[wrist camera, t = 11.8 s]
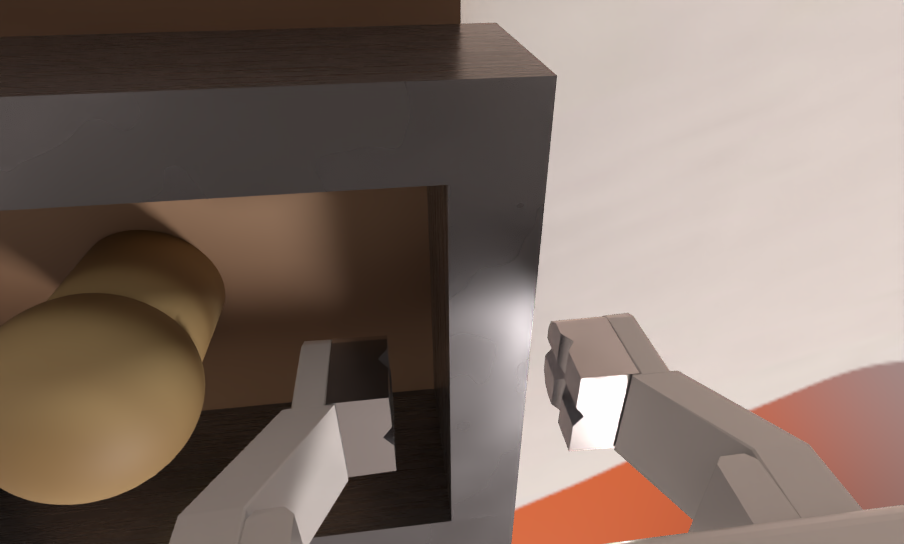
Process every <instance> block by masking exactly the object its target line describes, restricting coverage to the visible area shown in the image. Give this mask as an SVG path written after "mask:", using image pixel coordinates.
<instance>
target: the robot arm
mask: <svg viewBox="0 0 904 544" xmlns="http://www.w3.org/2000/svg"><path fill="white" fill-rule="evenodd" d="M547 338H548V341H549V343H550V346H551V348H552V349H551V350H550V351H549V352H548V353H547V354H546V355H545V365H544V373H545V384H546V388H547V392H548V396H549V398H550V401H551V404H552V405H554V406H555V407H556V408H558V409H559V410H560V413H559V420H558V423H559V426H560V429H561V431H562V434H563V437H564V439H565V442H566V444H567V447H568V450H569V451H579V450H591V449H603V448H615V449H614V450H615V451H616V452H617V453H618V454H620V455H621V456H622V457H623V458H624V459H625V460H626V461H627V462H629V463H630V464H631V465H632V466H633V467H634V468H636V470H638V471H639V472H640V473H641V474H642V475H643V476H644V477H645V478H647V479H648V480H649V481H650V482H651V483H652V484H653V485H654V486H656V487H657V488H658V489H659V490H660V491H661V492H662V493H663V494H665V495H666V496H667V497H668V498H669V499H671V501H672V502H674V503H675V504H676V505H677V506H678V507H679V508H680V509H681V510H682V511H684V512H685V513H686V514H687V515H688V516H689V517H690V518H691V519H693V522H692V525H691V527H690V530H689V532H688V533H684V534H676V535H669V536H661V537H653V538H646V539H638V540H630V541H623V542H615V543H608V544H904V505H899V506H892V507H883V508H876V509H868V510H862V508H861V507H860V506H859V505H858V503H857V502H856V501H855V500H854V499H853V497H852V496H851V495H850V494H849V493H848V491H847V490H846V489H845V488H844V486H843V485H842V484H841V483H840V482H839V480H838V479H837V478H836V477H835V476H834V474H833V473H832V472H831V471H830V469H829V468H828V467H827V466H826V464H825V463H824V462H823V461H822V460H821V458H820V457H819V456H818V455H817V454H816V453H815V451H814V450H813V449H812V447H811V446H810V445H809V444H807V443H806V442H804V441H802V440H800V439H798V438H797V437H795V436H793V435H791V434H790V433H787V432H786V431H784V430H782V429H781V428H779V427H777V426H775V425H774V424H772V423H770V422H768V421H766V420H765V419H763V418H761V417H759V416H757V415H756V414H754V413H752V412H750V411H749V410H747V409H745V408H743V407H741V406H740V405H738V404H736V403H734V402H733V401H731V400H729V399H727V398H725V397H724V396H722V395H720V394H718V393H717V392H715V391H713V390H711V389H709V388H708V387H706V386H704V385H702V384H701V383H699V382H697V381H695V380H693V379H692V378H690V377H688V376H686V375H685V374H683V373H681V372H679V371H669V369H668V368H667V366H666V365H665V363H664V362H663V360H662V359H661V357H660V356H659V354H658V353H657V351H656V350H655V348H654V347H653V345H652V344H651V342H650V341H649V339H648V338H647V336H646V335H645V333H644V332H643V330H642V329H641V327H640V325H639V324H638V322H637V321H636V319H635V318H634V316H633V315H631V314H629V313H624V314H614V315H605V316H602V317H591V318H580V319H569V320H559V321H551V323H550V325H549V329H548V337H547ZM390 471H396V446H395V431H394V404H393V389H392V377H391V370H390V360H389V347H388V339H387V335H386V336H370V337H355V338H339V339H333V340H316V341H304V343H303V345H302V347H301V351H300V357H299V363H298V369H297V375H296V381H295V388H294V394H293V400H292V406H291V409H284V410H282V411H281V412H280V413H279V414H278V415H277V416H276V417H275V418H274V419H273V420H272V421H271V422H270V423H269V424H268V425H267V426H266V427H265V428H264V429H263V430H262V431H261V432H260V433H259V434H258V435H257V436H256V437H255V438H254V439H253V440H252V441H251V442H250V443H249V444H248V445H247V446H246V447H245V448H244V449H243V450H242V451H241V452H240V453H239V454H238V455H237V456H236V458H235V459H234V460H233V461H232V462H231V463H230V464H229V465H228V466H227V467H226V468H225V469H224V470H223V471H222V472H221V473H220V474H219V475H218V476H217V477H216V478H215V479H214V480H213V481H212V482H211V483H210V484H209V485H208V486H207V487H206V488H205V489H204V490H203V491H202V492H201V493H200V494H199V495H198V496H197V497H196V498H195V499H194V500H193V501H192V502H191V503H190V504H189V505H188V506H187V507H186V508H185V510H184V511H183V512H182V513H181V514H180V515H179V516H178V517H177V520H176V523H175V526H174V530H173V533H172V536H171V539H170V542H169V544H309V543H310V542H311V540H312V538H313V537H314V535H315V534H316V532H317V530H318V529H319V527H320V525H321V524H322V522H323V521H324V519H325V517H326V516H327V514H328V513H329V511H330V509H331V508H332V506H333V504H334V503H335V501H336V500H337V498H338V496H339V495H340V493H341V492H342V490H343V488H344V487H345V485H346V483H347V482H348V477H354V476H361V475H369V474H376V473H383V472H390Z"/></svg>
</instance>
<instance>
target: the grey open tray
mask: <svg viewBox="0 0 904 544" xmlns="http://www.w3.org/2000/svg"><path fill="white" fill-rule="evenodd" d="M556 80H557V75H556V74H555V73H553V72H552V71H551V70H550V69H549V68H548V67H546V66H545V65H544V64H543V63H542V62H541V61H540V60H538V59H537V58H536V57H535V56H534V55H533V54H532V53H530V52H529V51H528V50H527V49H526V48H525V47H523V46H522V45H521V44H520V43H519V42H518V41H517V40H515V39H514V38H513V37H512V36H511V35H510V34H509V33H507V32H506V31H505V30H504V29H503V28H502V27H500V26H499V25H498V24H497V23H472V24H436V25H401V26H366V27H330V28H295V29H260V30H224V31H189V32H154V33H118V34H83V35H48V36H12V37H0V211H4V210H22V209H39V208H56V207H73V206H91V205H108V204H125V203H143V202H160V201H177V200H194V199H212V198H229V197H246V196H263V195H281V194H298V193H315V192H333V191H350V190H367V189H384V188H402V187H419V186H427V197H428V226H429V254H430V283H431V311H432V340H433V368H434V389H425V390H414V391H404V392H393V404H394V431H395V446H396V471H390V472H383V473H376V474H369V475H361V476H354V477H348V482H347V483H346V485H345V487H344V488H343V490H342V492H341V493H340V495H339V496H338V498H337V500H336V501H335V503H334V504H333V506H332V508H331V509H330V511H329V513H328V514H327V516H326V517H325V519H324V521H323V522H322V524H321V525H320V527H319V529H318V530H317V532H316V534H315V535H314V537H313V538H312V540H311V542H310V543H309V544H511V541H512V531H513V520H514V510H515V500H516V490H517V479H518V469H519V459H520V449H521V438H522V428H523V418H524V408H525V398H526V387H527V377H528V367H529V357H530V346H531V336H532V326H533V316H534V305H535V295H536V285H537V275H538V264H539V254H540V244H541V234H542V223H543V213H544V203H545V193H546V182H547V172H548V162H549V152H550V141H551V131H552V121H553V111H554V100H555V90H556ZM291 406H292V402H288V403H277V404H267V405H256V406H246V407H235V408H225V409H214V410H204V411H201V414H200V417H199V420H198V422H197V425H196V427H195V429H194V431H193V433H192V434H191V436H190V438H189V439H188V441H187V443H186V444H185V446H184V447H183V448H182V449H181V451H180V452H179V453H178V454H177V455H176V456H175V457H174V459H173V460H172V461H171V462H170V463H169V464H168V465H166V466H165V467H164V468H163V469H162V470H161V471H159V472H158V473H157V474H156V475H155V476H153V477H151V478H150V479H148V480H147V481H145V482H144V483H142V484H140V485H139V486H137V487H135V488H133V489H131V490H129V491H126V492H124V493H122V494H119V495H117V496H114V497H111V498H108V499H104V500H99V501H95V502H91V503H85V504H74V505H55V504H45V503H39V502H34V501H30V500H26V499H23V498H20V497H17V496H15V495H13V494H11V493H8V492H7V491H5V490H3V489H1V488H0V544H169V542H170V539H171V536H172V533H173V530H174V526H175V523H176V520H177V517H178V516H179V515H180V514H181V513H182V512H183V511H184V510H185V508H186V507H187V506H188V505H189V504H190V503H191V502H192V501H193V500H194V499H195V498H196V497H197V496H198V495H199V494H200V493H201V492H202V491H203V490H204V489H205V488H206V487H207V486H208V485H209V484H210V483H211V482H212V481H213V480H214V479H215V478H216V477H217V476H218V475H219V474H220V473H221V472H222V471H223V470H224V469H225V468H226V467H227V466H228V465H229V464H230V463H231V462H232V461H233V460H234V459H235V458H236V456H237V455H238V454H239V453H240V452H241V451H242V450H243V449H244V448H245V447H246V446H247V445H248V444H249V443H250V442H251V441H252V440H253V439H254V438H255V437H256V436H257V435H258V434H259V433H260V432H261V431H262V430H263V429H264V428H265V427H266V426H267V425H268V424H269V423H270V422H271V421H272V420H273V419H274V418H275V417H276V416H277V415H278V414H279V413H280V412H281V411H282V410H284V409H291Z"/></svg>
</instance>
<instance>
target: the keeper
mask: <svg viewBox="0 0 904 544" xmlns="http://www.w3.org/2000/svg"><path fill="white" fill-rule="evenodd" d="M436 24H460V0H0V37H12V36H48V35H83V34H118V33H154V32H189V31H224V30H260V29H295V28H330V27H366V26H401V25H436ZM386 335H387V339H388V347H389V360H390V370H391V377H392V389H393V392H404V391H414V390H425V389H434V368H433V340H432V311H431V283H430V254H429V226H428V197H427V186H419V187H402V188H384V189H367V190H350V191H333V192H315V193H298V194H281V195H263V196H246V197H229V198H212V199H194V200H177V201H160V202H143V203H125V204H108V205H91V206H73V207H56V208H39V209H22V210H4V211H0V488H1V489H3V490H5V491H7V492H8V493H11V494H13V495H15V496H17V497H20V498H23V499H26V500H30V501H34V502H39V503H45V504H55V505H74V504H85V503H91V502H95V501H99V500H104V499H108V498H111V497H114V496H117V495H119V494H122V493H124V492H126V491H129V490H131V489H133V488H135V487H137V486H139V485H140V484H142V483H144V482H145V481H147V480H148V479H150V478H151V477H153V476H155V475H156V474H157V473H158V472H159V471H161V470H162V469H163V468H164V467H165V466H166V465H168V464H169V463H170V462H171V461H172V460H173V459H174V457H175V456H176V455H177V454H178V453H179V452H180V451H181V449H182V448H183V447H184V446H185V444H186V443H187V441H188V439H189V438H190V436H191V434H192V433H193V431H194V429H195V427H196V425H197V422H198V420H199V417H200V414H201V411H204V410H214V409H225V408H235V407H246V406H256V405H267V404H277V403H288V402H292V400H293V394H294V388H295V381H296V375H297V369H298V363H299V357H300V351H301V347H302V345H303V343H304V341H316V340H333V339H339V338H355V337H370V336H386Z"/></svg>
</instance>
